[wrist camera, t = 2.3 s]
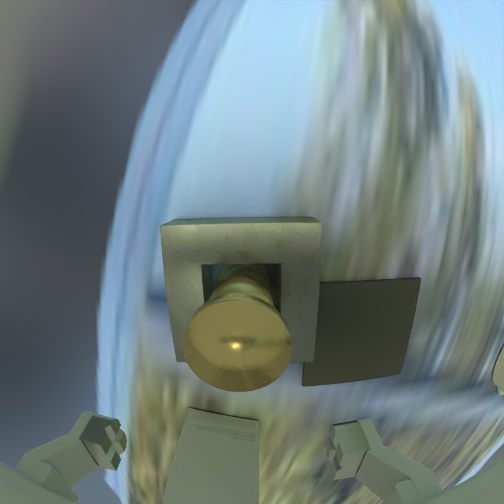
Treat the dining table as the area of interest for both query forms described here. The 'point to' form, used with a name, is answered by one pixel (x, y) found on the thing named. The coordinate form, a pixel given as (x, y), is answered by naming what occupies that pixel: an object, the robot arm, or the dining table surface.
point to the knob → (238, 332)
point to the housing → (245, 252)
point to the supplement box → (215, 461)
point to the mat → (361, 330)
